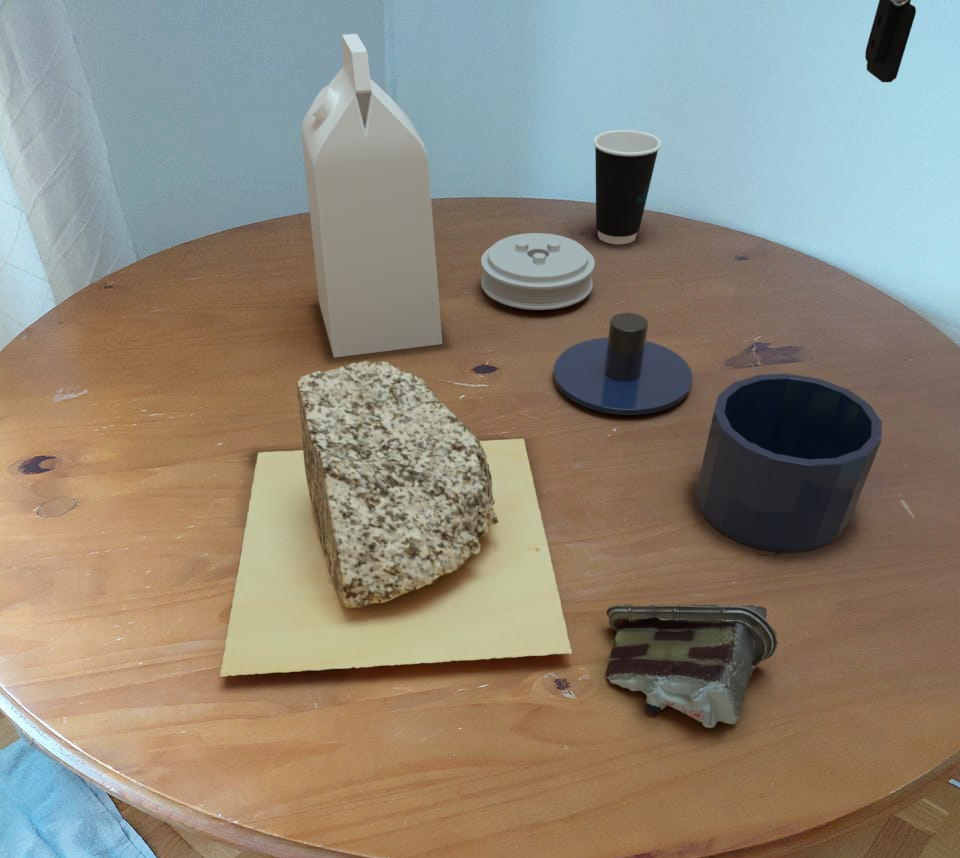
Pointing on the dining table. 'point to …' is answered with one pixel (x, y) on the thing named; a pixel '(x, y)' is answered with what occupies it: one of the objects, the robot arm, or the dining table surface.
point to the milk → (370, 215)
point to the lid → (537, 271)
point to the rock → (390, 538)
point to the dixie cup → (622, 182)
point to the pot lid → (623, 371)
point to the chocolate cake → (690, 656)
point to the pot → (786, 461)
